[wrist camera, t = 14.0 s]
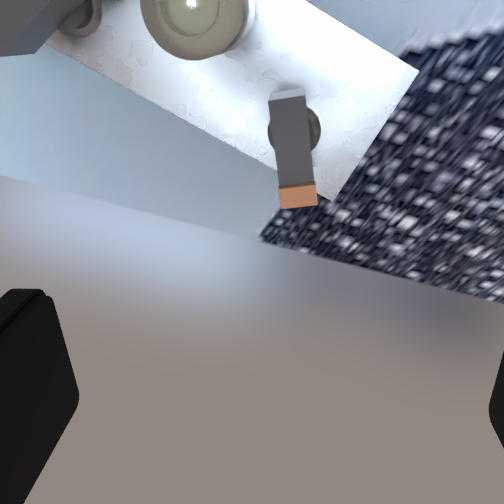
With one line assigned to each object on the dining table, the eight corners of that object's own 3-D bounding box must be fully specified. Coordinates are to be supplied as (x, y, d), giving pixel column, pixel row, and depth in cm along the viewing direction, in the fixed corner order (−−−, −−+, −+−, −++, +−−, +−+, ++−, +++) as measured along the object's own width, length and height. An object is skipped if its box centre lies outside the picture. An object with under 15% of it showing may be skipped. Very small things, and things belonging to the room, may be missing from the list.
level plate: (2, 12, 30) (-106, 6, 22) (41, -160, 26) (-75, -246, 18) (331, 194, 34) (341, 246, 26) (413, 69, 30) (457, 84, 21)
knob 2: (268, 88, 29) (261, 102, 23) (308, 82, 29) (311, 95, 23) (280, 177, 32) (277, 209, 26) (317, 172, 31) (322, 204, 26)
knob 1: (57, 55, 29) (-1, 62, 24) (27, 20, 29) (-41, 18, 23) (120, -9, 27) (73, -20, 22) (90, -49, 27) (32, -71, 21)
